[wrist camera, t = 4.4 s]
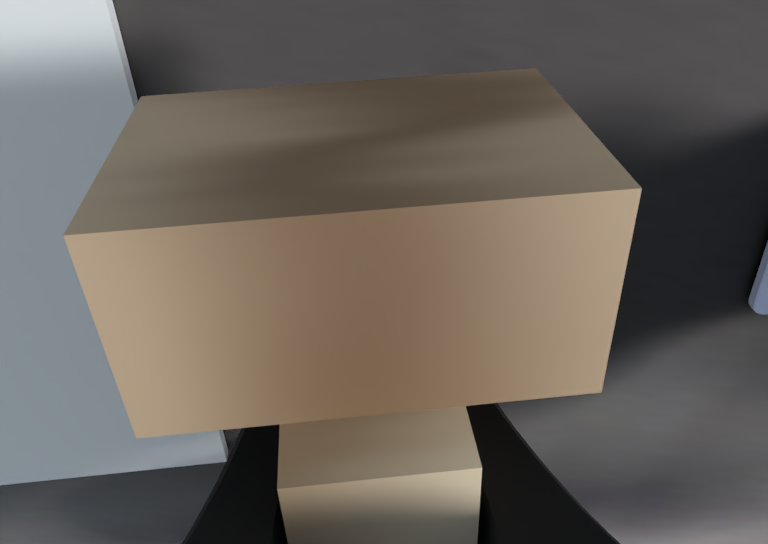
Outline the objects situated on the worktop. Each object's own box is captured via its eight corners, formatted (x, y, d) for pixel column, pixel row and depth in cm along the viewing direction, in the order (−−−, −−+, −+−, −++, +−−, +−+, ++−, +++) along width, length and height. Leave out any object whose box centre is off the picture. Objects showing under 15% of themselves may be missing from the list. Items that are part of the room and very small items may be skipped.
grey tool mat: (32, -309, 13) (23, -313, 12) (228, 450, 25) (226, 461, 24) (-424, -290, 12) (-450, -294, 12) (1, 474, 24) (-4, 485, 24)
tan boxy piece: (536, 68, 10) (685, 237, 6) (491, 569, 18) (546, 793, 14) (141, 96, 10) (30, 294, 6) (265, 595, 18) (254, 831, 14)
